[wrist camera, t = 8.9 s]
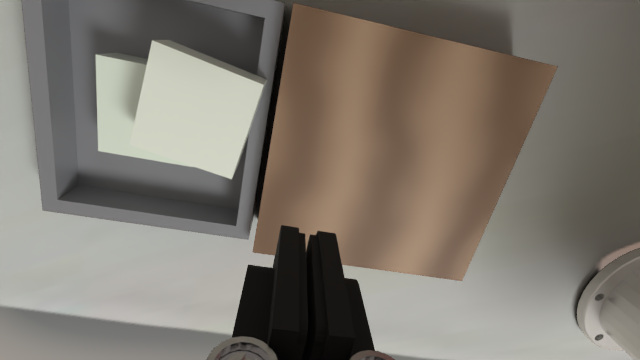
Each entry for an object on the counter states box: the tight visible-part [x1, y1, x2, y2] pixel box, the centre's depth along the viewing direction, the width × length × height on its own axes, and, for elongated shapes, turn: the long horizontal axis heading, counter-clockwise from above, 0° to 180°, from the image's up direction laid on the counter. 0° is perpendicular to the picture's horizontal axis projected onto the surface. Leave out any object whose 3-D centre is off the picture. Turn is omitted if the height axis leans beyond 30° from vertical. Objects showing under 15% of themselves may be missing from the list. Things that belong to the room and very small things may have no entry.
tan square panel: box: [253, 3, 557, 281], centre depth 24 cm, size 16×16×4 cm
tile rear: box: [96, 53, 194, 167], centre depth 23 cm, size 6×6×2 cm
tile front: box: [130, 40, 267, 179], centre depth 20 cm, size 6×6×2 cm
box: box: [22, 0, 286, 240], centre depth 23 cm, size 14×16×3 cm
